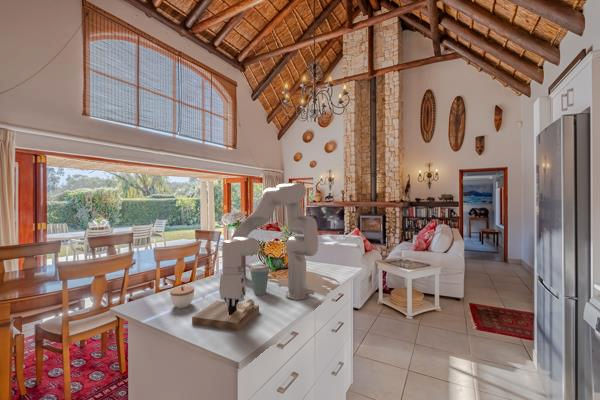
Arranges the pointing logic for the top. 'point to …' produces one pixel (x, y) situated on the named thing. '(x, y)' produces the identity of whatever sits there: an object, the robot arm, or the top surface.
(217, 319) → the brown wooden flat board
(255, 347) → the top surface
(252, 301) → the oak leg
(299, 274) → the robot arm
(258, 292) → the disposable coffee cup
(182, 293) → the lidded jar
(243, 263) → the thermos bottle
